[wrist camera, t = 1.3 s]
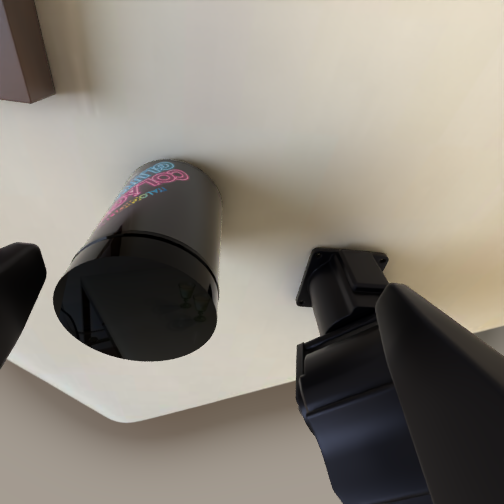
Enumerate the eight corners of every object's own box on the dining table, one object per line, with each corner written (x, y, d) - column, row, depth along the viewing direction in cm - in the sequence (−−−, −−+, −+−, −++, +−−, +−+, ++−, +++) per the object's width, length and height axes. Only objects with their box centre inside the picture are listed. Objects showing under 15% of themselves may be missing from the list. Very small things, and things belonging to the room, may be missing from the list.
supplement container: (216, 149, 19) (202, 247, 11) (229, 236, 23) (227, 355, 15) (111, 159, 19) (16, 265, 11) (143, 244, 23) (93, 367, 15)
